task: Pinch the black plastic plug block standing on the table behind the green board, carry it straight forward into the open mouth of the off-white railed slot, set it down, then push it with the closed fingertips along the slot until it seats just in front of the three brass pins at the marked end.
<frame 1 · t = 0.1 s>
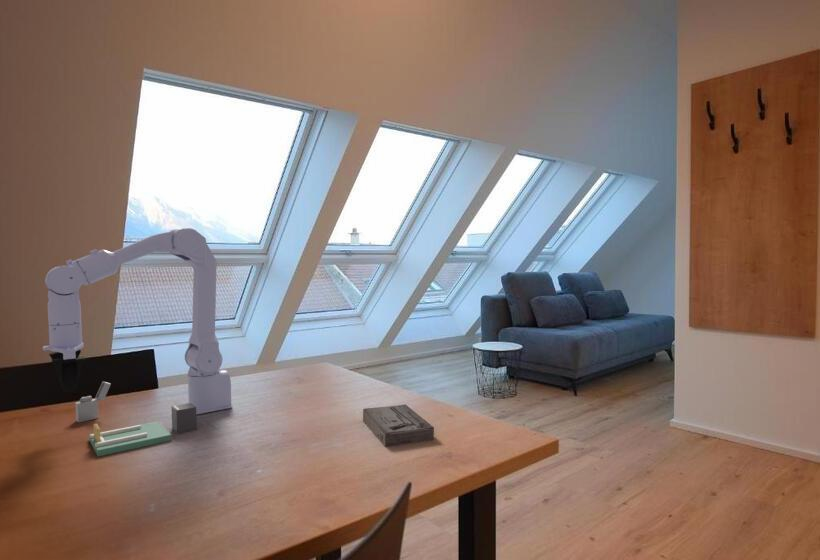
hand: (68, 388, 109), 10 cm above the table, fingers open, 7 cm apart
lighter: (94, 418, 121), on the table
box: (396, 432, 111), on the table
header board: (130, 440, 106), on the table
plug: (184, 429, 112), on the table
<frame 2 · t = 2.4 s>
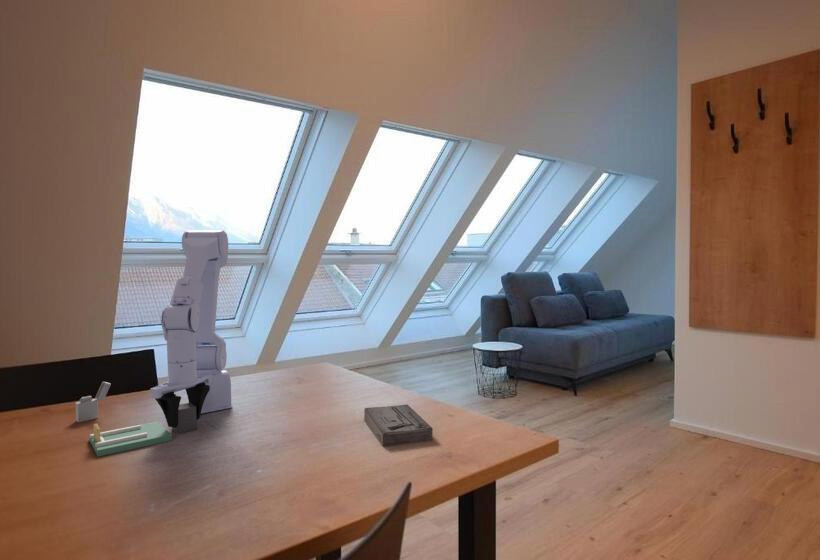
hand: (184, 422, 112), 1 cm above the table, fingers closed on plug, 5 cm apart
plug: (184, 429, 112), on the table, touching gripper
everything else where it was.
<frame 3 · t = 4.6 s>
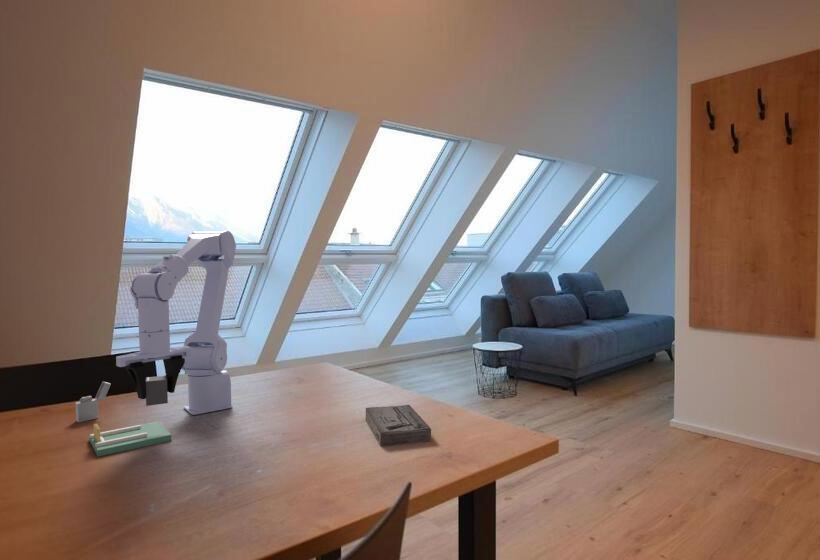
hand: (156, 395, 108), 8 cm above the table, fingers closed on plug, 5 cm apart
plug: (157, 402, 108), point 7 cm above the table, touching gripper
everything else where it was.
when the fingers open (4 cm above the table, at t = 6.6 s): plug stays where it is, resting on header board.
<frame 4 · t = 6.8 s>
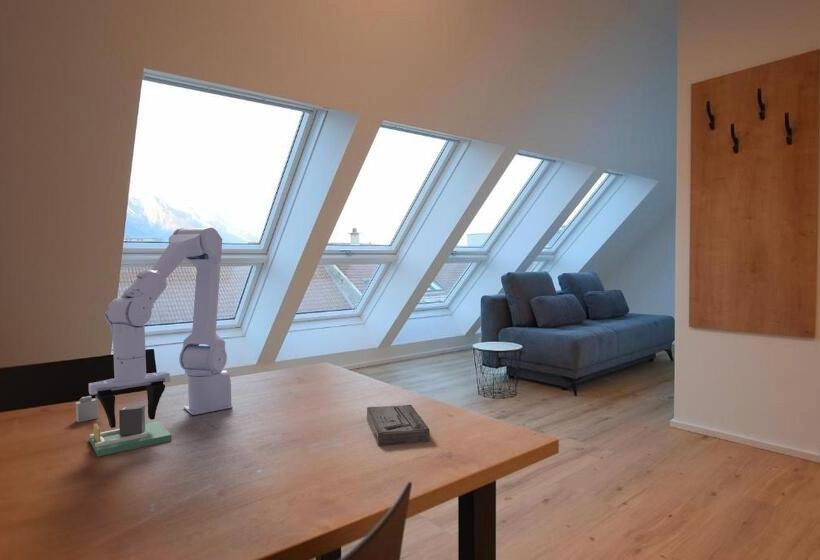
hand: (132, 422, 106), 4 cm above the table, fingers open, 7 cm apart
plug: (132, 432, 106), point 2 cm above the table, tilted 9°, touching header board
everything else where it was.
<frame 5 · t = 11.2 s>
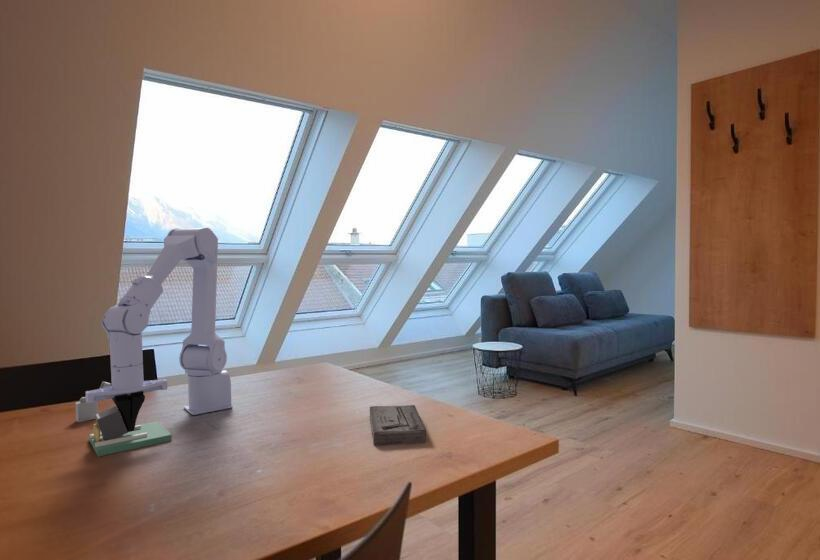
hand: (129, 430, 105), 2 cm above the table, fingers closed
plug: (115, 434, 104), point 2 cm above the table, tilted 17°, touching gripper, header board
everything else where it was.
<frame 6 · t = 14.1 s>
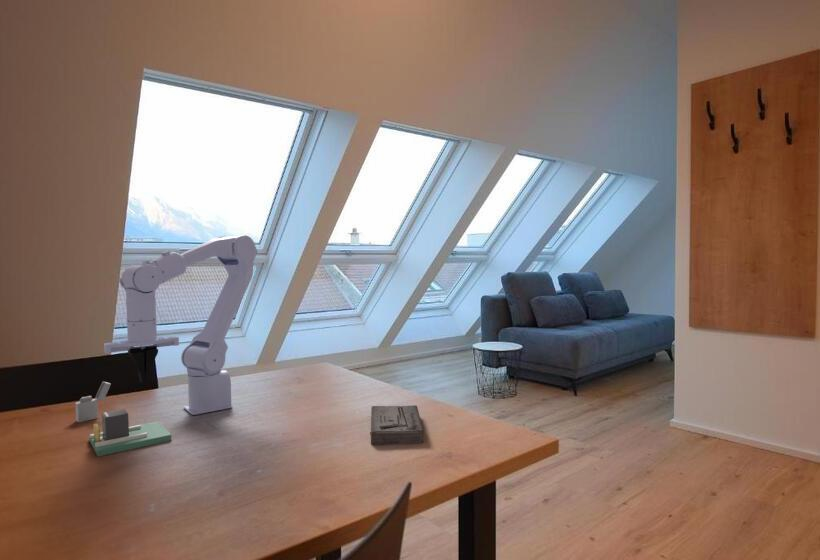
hand: (144, 381, 114), 10 cm above the table, fingers closed
plug: (116, 437, 104), point 1 cm above the table, touching header board
at the end: plug 1.2 cm from the target spot, point 1.2 cm above the table; plug tilted 0°; the gripper is holding nothing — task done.
